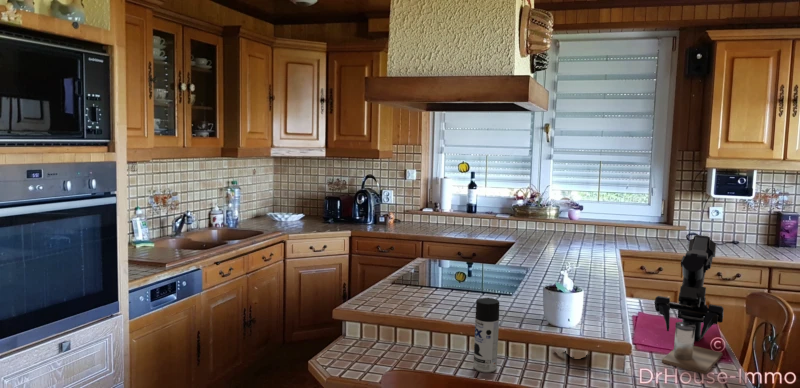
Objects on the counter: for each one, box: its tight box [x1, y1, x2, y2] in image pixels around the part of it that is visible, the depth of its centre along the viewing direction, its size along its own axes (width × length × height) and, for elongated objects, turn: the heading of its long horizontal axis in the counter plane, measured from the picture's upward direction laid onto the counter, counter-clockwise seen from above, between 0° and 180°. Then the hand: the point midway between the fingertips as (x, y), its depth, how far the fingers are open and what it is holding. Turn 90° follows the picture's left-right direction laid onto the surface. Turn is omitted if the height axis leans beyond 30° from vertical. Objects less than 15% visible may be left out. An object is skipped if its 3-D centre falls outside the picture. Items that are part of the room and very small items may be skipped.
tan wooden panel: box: [661, 345, 723, 375], centre depth 184 cm, size 18×12×1 cm, turn 139°
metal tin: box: [673, 321, 696, 360], centre depth 182 cm, size 5×5×10 cm
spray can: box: [472, 297, 500, 374], centre depth 173 cm, size 7×7×20 cm
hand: (684, 333), depth 181 cm, fingers open, 9 cm apart
